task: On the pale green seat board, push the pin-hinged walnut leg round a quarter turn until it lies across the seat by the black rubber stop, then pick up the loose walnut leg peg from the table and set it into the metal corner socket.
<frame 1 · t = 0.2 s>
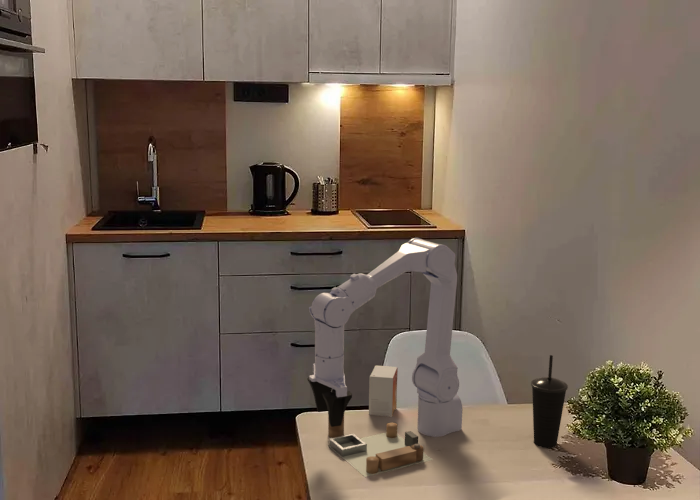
hand: (329, 418, 160), 10 cm above the table, fingers open, 7 cm apart
loose leg: (336, 439, 173), on the table
small box: (382, 414, 188), on the table
drinking cup: (545, 444, 173), on the table
socket: (347, 448, 166), resting on seat board
folding leg: (400, 455, 160), point 3 cm above the table, hinge at 0.0°
seat board: (379, 457, 165), on the table
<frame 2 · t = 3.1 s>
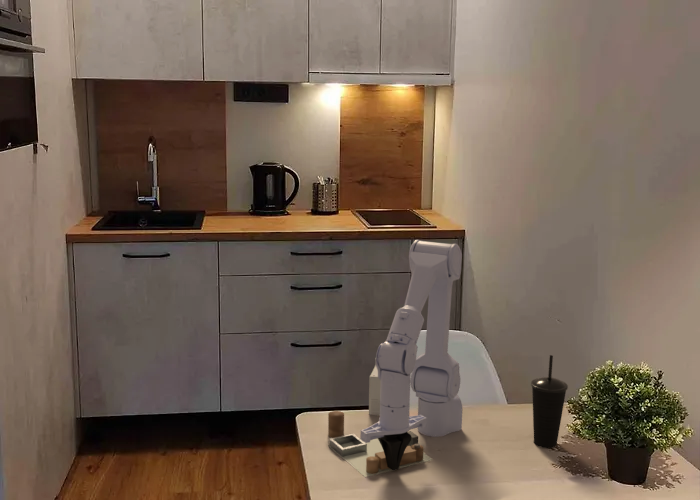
hand: (393, 467, 156), 2 cm above the table, fingers closed, pressing on folding leg
folding leg: (400, 455, 160), point 3 cm above the table, hinge at -2.4°, touching gripper
everything else where it was.
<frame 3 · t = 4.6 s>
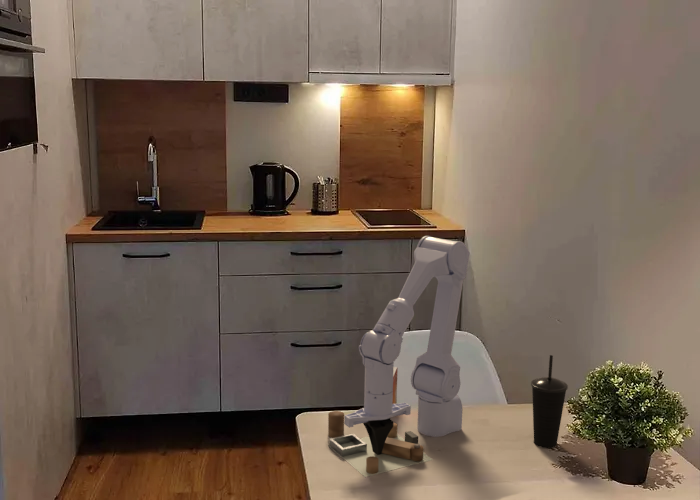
hand: (377, 452, 163), 2 cm above the table, fingers closed
folding leg: (399, 447, 163), point 3 cm above the table, hinge at -56.6°, touching gripper
everything else where it was.
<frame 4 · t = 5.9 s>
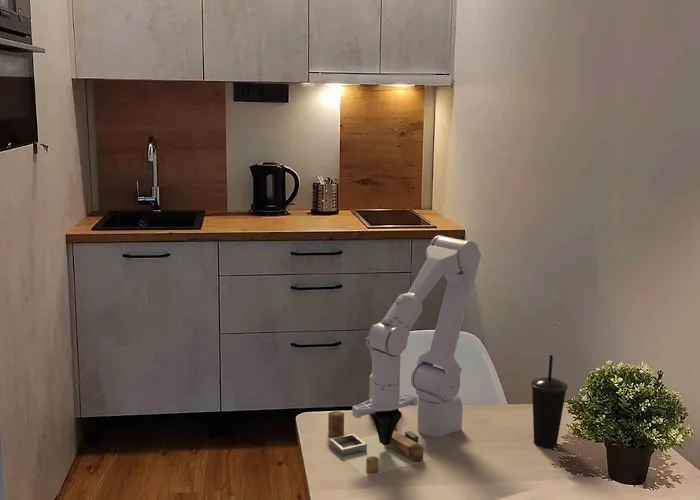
hand: (384, 443, 166), 3 cm above the table, fingers closed
folding leg: (404, 444, 165), point 3 cm above the table, hinge at -82.6°
everything else where it was.
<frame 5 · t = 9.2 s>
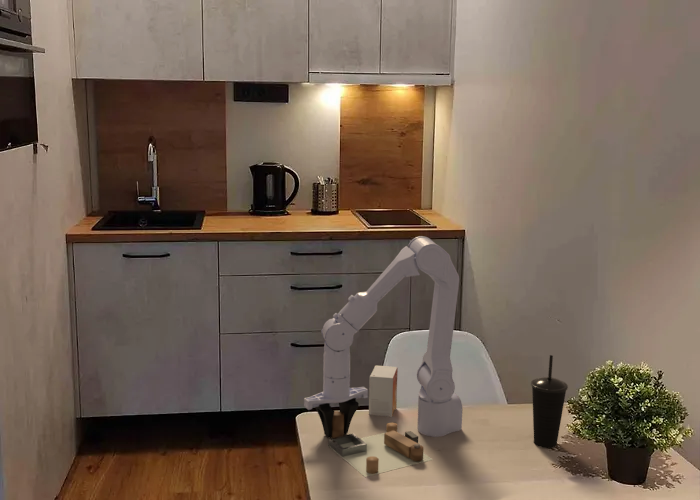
hand: (336, 433, 173), 1 cm above the table, fingers closed on loose leg, 3 cm apart
loose leg: (335, 439, 173), on the table, touching gripper
everything else where it was.
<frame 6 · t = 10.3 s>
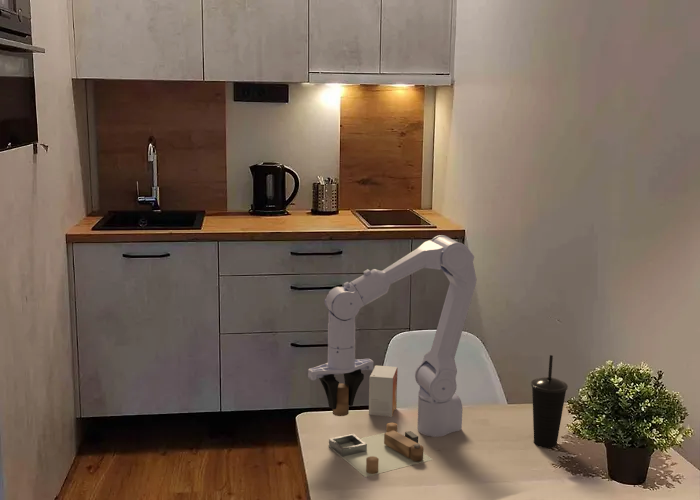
hand: (340, 406, 169), 9 cm above the table, fingers closed on loose leg, 3 cm apart
loose leg: (340, 413, 169), point 7 cm above the table, touching gripper
everything else where it was.
when the fingers open (4 cm above the table, at t = 11.8 s): loose leg drops 1 cm, resting on seat board.
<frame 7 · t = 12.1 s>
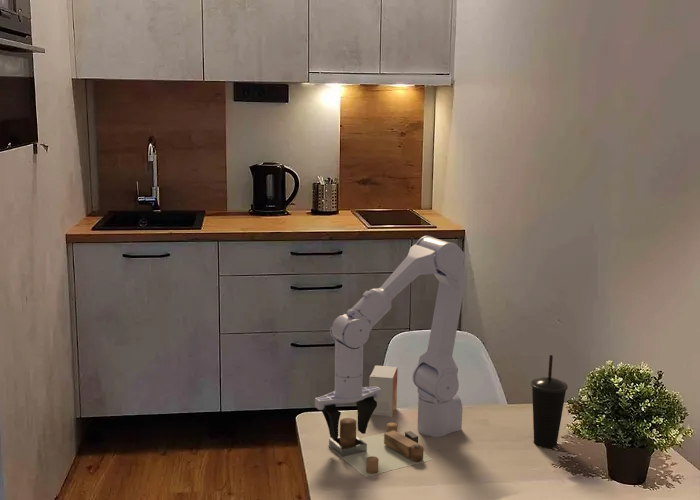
hand: (347, 435, 166), 4 cm above the table, fingers open, 6 cm apart
loose leg: (347, 448, 167), point 1 cm above the table, touching seat board
everything else where it was.
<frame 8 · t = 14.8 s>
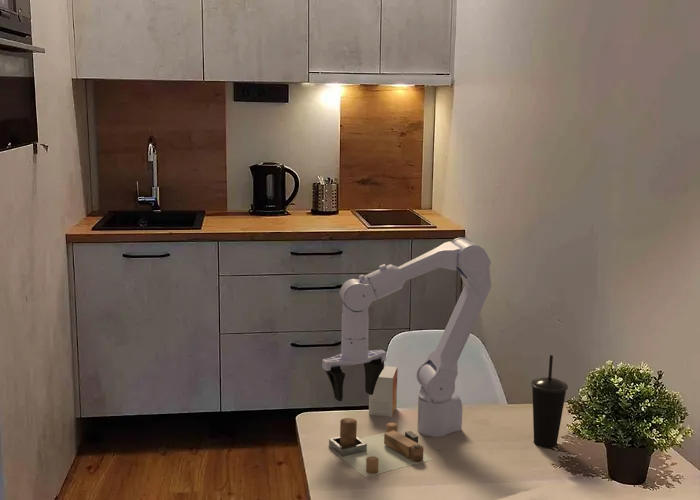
hand: (354, 396, 172), 10 cm above the table, fingers open, 7 cm apart
nothing on the table moved.
at the end: folding leg at -83° (first picture: +0°); loose leg 0.1 cm off-centre on the socket, point 0.0 cm above the socket's base; loose leg tilted 1° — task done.
